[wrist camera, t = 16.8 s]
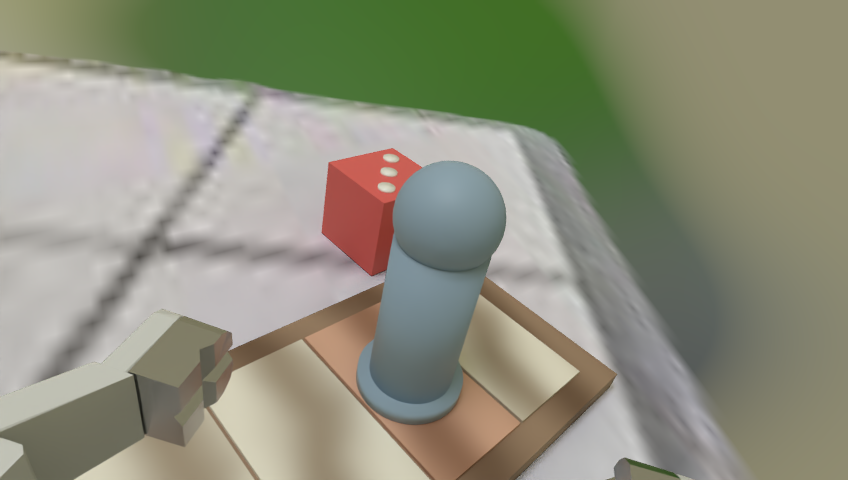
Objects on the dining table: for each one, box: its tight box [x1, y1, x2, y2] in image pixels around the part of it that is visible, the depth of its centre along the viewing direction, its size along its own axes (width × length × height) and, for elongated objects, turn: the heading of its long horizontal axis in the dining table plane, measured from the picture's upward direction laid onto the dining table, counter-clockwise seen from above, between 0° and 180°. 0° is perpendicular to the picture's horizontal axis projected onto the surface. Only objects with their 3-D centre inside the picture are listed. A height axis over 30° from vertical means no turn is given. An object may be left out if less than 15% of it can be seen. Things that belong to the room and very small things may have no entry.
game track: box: [74, 277, 617, 480], centre depth 24 cm, size 34×14×1 cm, turn 134°
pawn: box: [356, 161, 506, 425], centre depth 24 cm, size 6×6×13 cm
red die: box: [322, 148, 422, 276], centre depth 38 cm, size 6×6×6 cm
